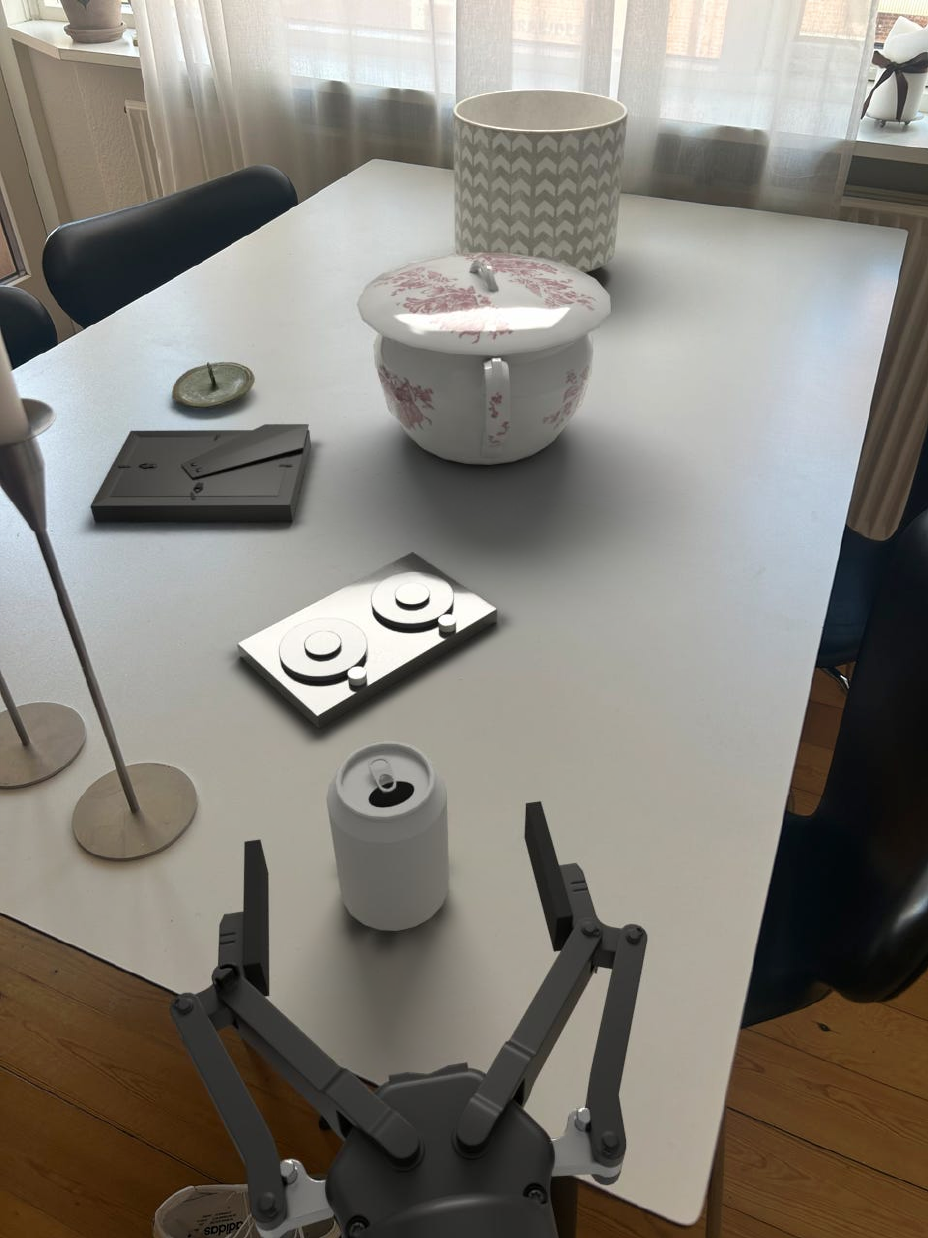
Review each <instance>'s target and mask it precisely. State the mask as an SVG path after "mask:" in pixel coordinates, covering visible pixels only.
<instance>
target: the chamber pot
mask: <svg viewBox="0 0 928 1238" xmlns="http://www.w3.org/2000/svg"><path fill="white" fill-rule="evenodd" d="M356 306H357V307H356V308H357V309H358V312H359V315H360V318H361V321H363V322H364V323H365V324H366V325H368V326H369V327H371V328H372V329H373V330H374V331H375V332H376V333H377V334H376V337H375V340H374V342H373V358H374V367H375V370H376V374H377V377H378V378H377V379H378V381H379V384H380V388H381V392H382V396H383V398H384V400H385V401H384V402H385V404H386V406H387V409H388V412H389V413H390V414H391V415H392V416H393V418H394V419H395V421H396V422H397V423H398V424H399V425H400V427H401V429H403V431H404V432H405V433H406V434H407V436H408V437H409V438H410V439H412V441H414V442H415V444H417V445H418V446H419V447H420V448H422V449H423V450H424V451H425V452H428V453H429V454H432V455H434V456H437V457H438V458H440V459H443V460H446V461H447V460H448V461H451V462H455V463H461V464H465V465H484V466H485V465H489V466H490V465H499V464H506V463H513V462H516V461H520V460H522V459H525V458H529V457H532V456H534V455H535V454H537V453H539V452H540V451H542V450H543V449H545V448H546V447H548V446H549V445H550V444H552V443H554V441H555V440H556V439H557V437H558V436H559V435H560V433H562V431H563V430H564V428H566V426H567V425H568V424H569V422H570V421H572V419H573V417H574V416H575V415H576V413H577V412H578V410H579V409H580V407H581V406H582V405H583V402H584V399H585V396H586V393H587V389H588V386H589V383H590V380H591V376H592V374H593V373H592V372H593V361H594V336H593V334H592V332H594V331H596V330H597V329H600V327H601V326H602V324H603V323H604V322H605V320H606V319H607V318H608V317H609V315H610V314H611V313H612V304H611V295H610V294H609V292H608V291H607V290H606V289H605V288H604V287H603V286H602V284H601V283H600V282H599V281H598V280H597V279H596V278H595V277H593V276H591V275H589V274H588V273H587V272H585V273H584V272H582V271H580V270H578V269H576V268H574V267H572V266H568V265H565V264H562V263H558V262H555V261H551V260H548V259H545V258H538V257H531V256H524V255H517V254H510V253H464V254H456V253H455V254H443V255H437V256H432V257H428V258H423V259H418V260H413V261H409V262H406V263H404V264H401V265H398V266H396V267H394V268H391V269H388V270H385V271H384V272H382V273H381V274H379V275H377V276H376V277H375V278H374V279H373V280H371V281H370V282H369V283H368V284H366V285H365V286H364V288H363V289H362V291H361V293H360V295H359V297H358V300H357V302H356Z"/></svg>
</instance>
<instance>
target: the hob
mask: <svg viewBox="0 0 928 1238" xmlns="http://www.w3.org/2000/svg"><path fill="white" fill-rule="evenodd" d="M496 622H498V608H496V607H495V606H494V605H492V604H491V603H489V602H487V600H484V599H483V598H482V597H480V596H479V595H477V594H476V593H474V592H473V591H472V590H470V589H468V588H467V587H466V586H464V585H463V584H461V583H460V582H458V581H457V580H455V579H453V577H450V576H449V575H448V574H447V573H445V572H444V571H442V570H441V569H439V568H438V567H436V566H435V565H433V564H432V563H430V562H429V561H427V560H426V559H424V558H423V557H421V556H420V555H418V554H417V553H415V552H414V551H411V552H409V553H408V554H407V553H406V555H404V556H401V557H399V558H398V559H395V560H394V561H392V562H390V563H388V564H386V565H384V566H383V567H381V568H379V569H377V570H375V571H373V572H371V573H369V574H367V575H365V576H363V577H362V578H360V579H358V580H356V581H354V582H351V583H350V584H348V585H346V586H344V587H342V588H340V589H338V590H337V591H335V592H333V593H331V594H329V595H327V596H325V597H323V598H321V599H319V600H317V601H315V602H314V603H312V604H309V605H308V606H306V607H304V608H302V609H301V610H298V611H296V612H295V613H293V614H291V615H289V616H287V617H285V618H283V619H281V620H279V621H277V622H276V623H274V624H272V625H269V626H268V627H265V628H264V629H262V630H260V631H258V632H256V633H255V634H252V635H251V636H249V637H247V638H244V639H243V640H241V641H239V642H237V644H236V645H237V649H238V650H237V651H238V654H239V657H240V658H242V660H243V661H244V662H245V663H246V664H248V665H249V666H250V667H251V668H252V669H253V670H254V671H255V672H256V673H257V674H258V675H260V676H261V677H262V678H263V679H264V680H265V681H266V682H267V683H268V684H270V685H271V686H272V687H273V689H275V690H276V691H277V692H278V694H281V696H283V698H284V699H286V700H287V701H288V702H289V703H290V704H291V705H292V706H293V707H294V708H296V710H298V711H299V712H300V713H301V714H302V715H303V716H304V717H306V718H307V720H309V721H310V722H311V723H312V724H313V725H314V726H315V727H316V728H317V729H318V730H320V729H322V728H324V727H325V726H326V725H328V724H330V723H332V722H333V721H335V720H336V719H338V718H340V717H341V716H343V715H344V714H347V713H348V712H350V711H351V710H353V709H354V708H356V707H358V706H360V705H361V704H363V703H364V702H366V701H368V700H369V699H371V698H373V697H374V696H376V695H378V694H379V693H381V692H383V691H384V690H386V689H388V688H389V687H391V686H392V685H394V684H396V683H397V682H400V681H401V680H403V679H404V678H406V677H407V676H409V675H411V674H413V673H414V672H416V671H417V670H419V669H421V668H422V667H424V666H426V665H427V664H429V663H431V662H433V661H434V660H436V659H438V658H439V657H440V656H443V655H444V654H446V653H448V652H449V651H451V650H452V649H454V648H455V647H457V646H459V645H460V644H462V643H464V642H465V641H467V640H469V639H470V638H472V637H473V636H475V635H477V634H478V633H480V632H482V631H483V630H485V629H486V628H488V627H490V626H492V625H493V624H495V623H496Z"/></svg>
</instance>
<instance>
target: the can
mask: <svg viewBox="0 0 928 1238" xmlns="http://www.w3.org/2000/svg"><path fill="white" fill-rule="evenodd" d="M338 766H339V767H337V770H336V772H335V775H333V778H332V779H331V781H330V782H329V783H328V789H327V792H326V799H325V800H326V806H327V814H328V818H329V825H330V831H331V837H332V838H331V839H332V844H333V845H332V846H333V851H334V852H333V853H334V858H335V864H336V871H337V878H338V884H339V885H338V886H339V890H340V895H341V900H342V903H343V905H344V906H345V908H346V909H347V911H348V912H349V914H350V915H351V916H352V917H353V918H355V919H356V920H357V921H358V922H359V923H361V924H363V925H364V926H366V927H369V928H373V929H375V930H379V931H393V932H399V931H402V930H407V929H411V928H415V927H418V925H421V924H422V923H424V922H426V921H428V920H430V919H431V918H432V917H433V916H434V915H435V914H436V913H437V912H438V911H439V910H440V908H442V906H443V904H444V902H445V900H446V897H447V895H448V894H449V888H450V887H449V885H450V857H449V853H450V852H449V826H448V825H449V822H448V819H449V818H448V789H447V785H446V783H445V779H444V776H443V773H441V771H440V770H439V769H438V767H437V766H436V765H435V764H434V763H433V760H431V759H430V758H429V756H428V755H427V754H426V753H425V752H424V751H422V749H421V750H420V749H419V748H417V747H416V746H415V745H413V744H410V743H409V744H408V743H405V742H401V741H397V740H396V741H395V740H393V741H392V740H381V741H378V742H377V741H376V742H371V743H367V744H365V745H363V746H361V747H359V748H356V749H354V750H353V751H352V752H351V753H349V755H347V756H346V757H344V759H343V760H342V762H341V763H340V765H338Z"/></svg>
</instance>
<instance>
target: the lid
mask: <svg viewBox="0 0 928 1238" xmlns="http://www.w3.org/2000/svg"><path fill="white" fill-rule="evenodd" d="M255 379H256V377H255V375H254V372H253V371H252V370H251V369H250V368H249V367H247V366H245V365H243V364H241V363H237V362H234V361H233V362H232V361H230V362H229V361H219V362H212V363H210V362H209V361H208V362H207V363H206V364H203V365H200V366H196V367H193V368H190V369H188V370H187V371H185V372H184V373H182V374H181V376H179V377H178V378H177V379H176V380H175V383H174V384H173V386H172V392H171V394H172V396H171V397H172V399H173V401H174V402H175V403H176V404H178V405H181V406H183V407H185V408H189V409H191V408H192V409H212V408H218V407H221V406H225V405H228V404H230V403H232V402H235V401H237V400H238V399H240V398H241V397H243V396H244V395H245V394H247V393H248V392H249V391H250V390H251V389H252V387H253V386H254V383H255Z"/></svg>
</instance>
